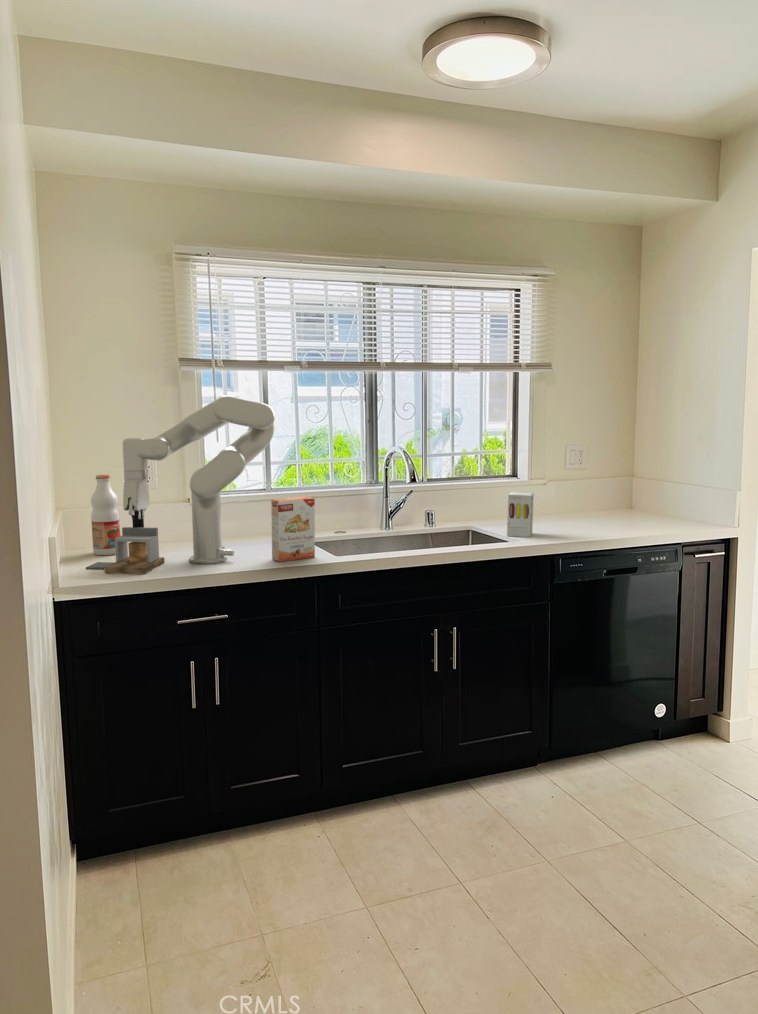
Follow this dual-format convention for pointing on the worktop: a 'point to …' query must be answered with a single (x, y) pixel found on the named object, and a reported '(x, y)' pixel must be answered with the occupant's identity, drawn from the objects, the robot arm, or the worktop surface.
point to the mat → (99, 565)
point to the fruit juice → (104, 517)
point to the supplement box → (520, 514)
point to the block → (138, 552)
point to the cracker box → (293, 528)
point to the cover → (137, 536)
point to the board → (133, 566)
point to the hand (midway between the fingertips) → (138, 530)
